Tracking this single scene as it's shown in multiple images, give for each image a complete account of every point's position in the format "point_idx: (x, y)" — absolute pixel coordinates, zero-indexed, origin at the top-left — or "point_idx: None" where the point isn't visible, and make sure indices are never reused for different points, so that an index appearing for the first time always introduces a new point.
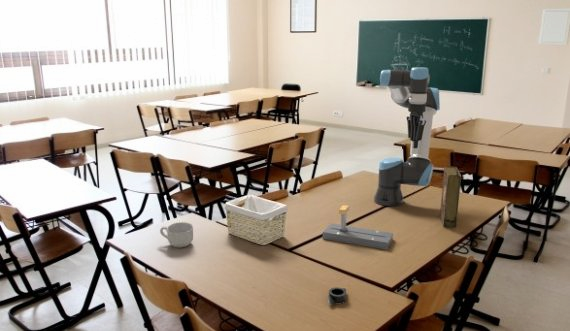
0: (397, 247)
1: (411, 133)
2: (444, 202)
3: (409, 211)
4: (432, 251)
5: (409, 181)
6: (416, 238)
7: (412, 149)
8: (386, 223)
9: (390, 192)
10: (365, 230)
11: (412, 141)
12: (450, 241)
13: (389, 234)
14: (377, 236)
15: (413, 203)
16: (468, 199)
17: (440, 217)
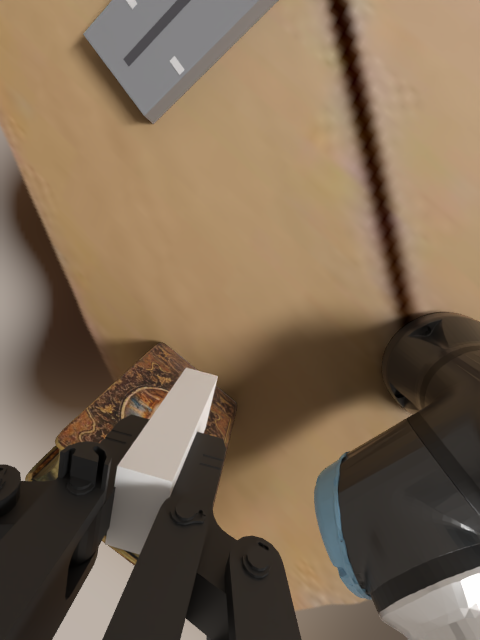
0: (99, 95)
1: (123, 635)
2: (156, 389)
3: (317, 354)
4: (41, 178)
5: (380, 434)
6: (130, 205)
7: (165, 399)
8: (273, 204)
9: (425, 358)
10: (206, 26)
11: (127, 463)
12: (77, 279)
13: (139, 93)
14: (142, 35)
15: (368, 421)
16: (296, 571)
17: (223, 392)
